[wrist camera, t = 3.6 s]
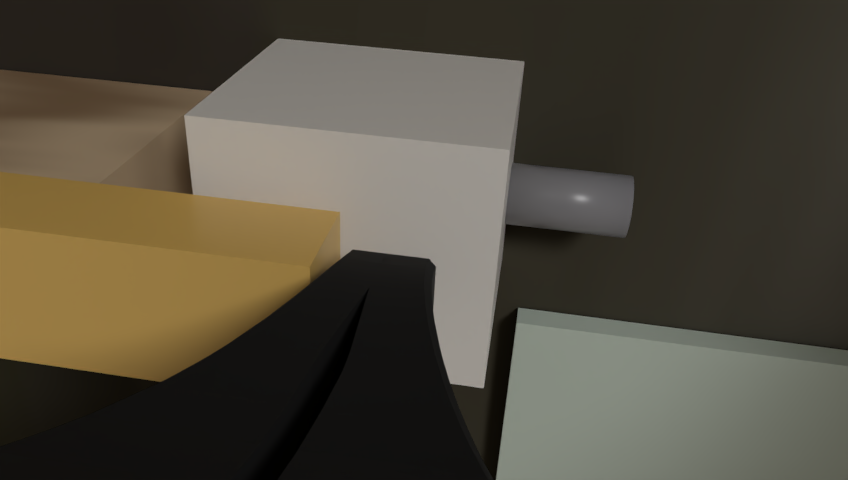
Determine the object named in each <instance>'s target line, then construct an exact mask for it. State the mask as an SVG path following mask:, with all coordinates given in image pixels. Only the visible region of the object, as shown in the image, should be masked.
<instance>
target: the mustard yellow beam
mask: <svg viewBox="0 0 848 480" xmlns="http://www.w3.org/2000/svg"><path fill="white" fill-rule="evenodd" d="M338 260H340V212H336V211H328V210H319V209H311V208H302V207H294V206H286V205H277V204H269V203H260V202H252V201H243V200H235V199H226V198H218V197H210V196H201V195H193V194H184V193H176V192H167V191H159V190H150V189H142V188H134V187H125V186H117V185H108V184H100V183H91V182H83V181H74V180H66V179H58V178H49V177H41V176H32V175H24V174H15V173H7V172H0V358H3V359H10V360H16V361H23V362H30V363H37V364H43V365H50V366H57V367H64V368H70V369H77V370H84V371H91V372H97V373H104V374H111V375H118V376H124V377H131V378H138V379H145V380H152V381H158V382H162V381H164V380H166V379H168V378H169V377H171V376H173V375H175V374H177V373H179V372H180V371H182V370H184V369H186V368H188V367H190V366H192V365H193V364H195V363H197V362H199V361H201V360H202V359H204V358H206V357H207V356H209V355H211V354H212V353H214V352H216V351H217V350H219V349H221V348H222V347H224V346H225V345H227V344H229V343H230V342H232V341H233V340H234V339H236V338H237V337H239V336H240V335H242V334H243V333H245V332H246V331H248V330H249V329H251V328H252V327H253V326H255V325H256V324H258V323H259V322H261V321H262V320H264V319H265V318H267V317H268V316H269V315H271V314H272V313H273V312H275V311H276V310H277V309H278V308H280V307H281V306H282V305H284V304H285V303H286V302H288V301H289V300H290V299H291V298H293V297H294V296H295V295H297V294H298V293H299V292H300V291H302V290H303V289H304V288H305V287H307V286H308V285H309V284H310V283H312V282H313V281H314V280H315V279H317V278H318V277H319V276H320V275H321V274H323V273H324V272H325V271H326V270H327V269H329V268H330V267H331V266H332V265H334V264H335V263H336V262H337V261H338Z"/></svg>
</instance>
